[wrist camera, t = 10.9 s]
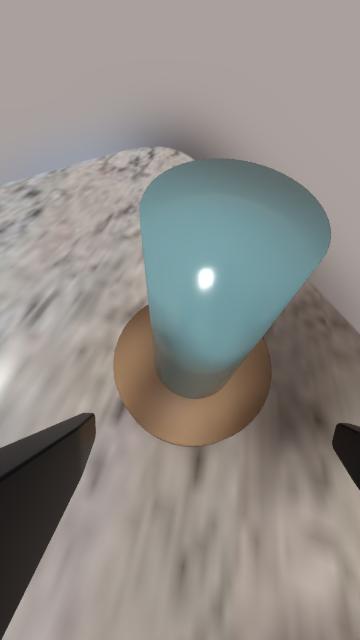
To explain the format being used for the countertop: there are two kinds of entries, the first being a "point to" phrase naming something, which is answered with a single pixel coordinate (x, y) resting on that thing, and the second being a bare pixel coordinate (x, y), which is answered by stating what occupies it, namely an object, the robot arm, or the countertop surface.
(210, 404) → the base plate
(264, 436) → the countertop surface
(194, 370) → the teal tapered cylinder
